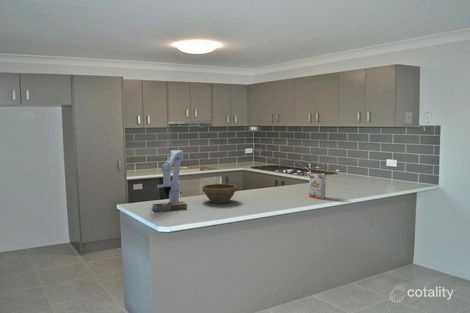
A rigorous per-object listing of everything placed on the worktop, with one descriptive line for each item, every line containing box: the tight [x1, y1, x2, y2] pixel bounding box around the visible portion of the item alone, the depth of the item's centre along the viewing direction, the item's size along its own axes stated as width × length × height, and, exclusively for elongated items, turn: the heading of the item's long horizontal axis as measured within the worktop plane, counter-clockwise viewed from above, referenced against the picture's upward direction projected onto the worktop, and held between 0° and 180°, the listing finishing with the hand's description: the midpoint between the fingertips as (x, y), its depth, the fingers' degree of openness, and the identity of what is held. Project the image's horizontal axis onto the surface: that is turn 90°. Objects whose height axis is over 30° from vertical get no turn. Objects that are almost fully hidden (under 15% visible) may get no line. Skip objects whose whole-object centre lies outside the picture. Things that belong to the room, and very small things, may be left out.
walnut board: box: [167, 200, 188, 211], centre depth 320 cm, size 12×12×4 cm
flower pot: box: [202, 183, 238, 204], centre depth 344 cm, size 28×28×13 cm
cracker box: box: [308, 172, 327, 200], centre depth 360 cm, size 14×6×21 cm, turn 37°
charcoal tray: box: [152, 202, 172, 213], centre depth 315 cm, size 12×12×4 cm
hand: (167, 196), depth 319 cm, fingers closed
